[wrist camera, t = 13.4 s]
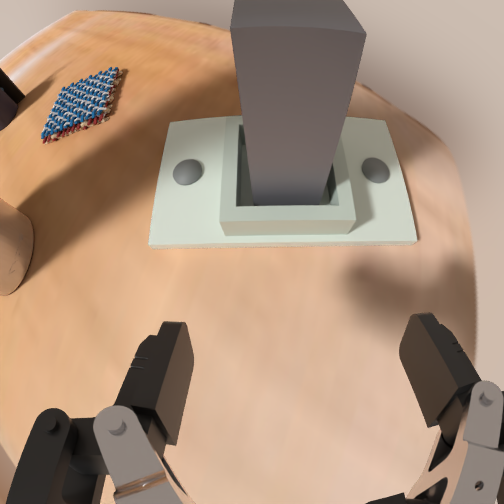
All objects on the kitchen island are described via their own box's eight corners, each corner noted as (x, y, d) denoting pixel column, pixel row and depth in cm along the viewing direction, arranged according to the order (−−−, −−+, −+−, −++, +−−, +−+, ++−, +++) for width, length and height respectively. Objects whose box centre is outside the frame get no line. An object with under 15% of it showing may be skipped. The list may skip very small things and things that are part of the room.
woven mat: (43, 150, 27) (35, 141, 25) (65, 96, 30) (59, 87, 28) (110, 125, 27) (102, 114, 25) (126, 73, 30) (121, 62, 28)
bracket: (153, 249, 21) (133, 232, 18) (173, 129, 25) (162, 104, 21) (411, 245, 20) (432, 228, 16) (382, 127, 23) (392, 102, 20)
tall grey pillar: (254, 211, 20) (230, 28, 7) (254, 153, 22) (237, -13, 9) (317, 210, 20) (366, 33, 7) (310, 153, 22) (334, -11, 8)
